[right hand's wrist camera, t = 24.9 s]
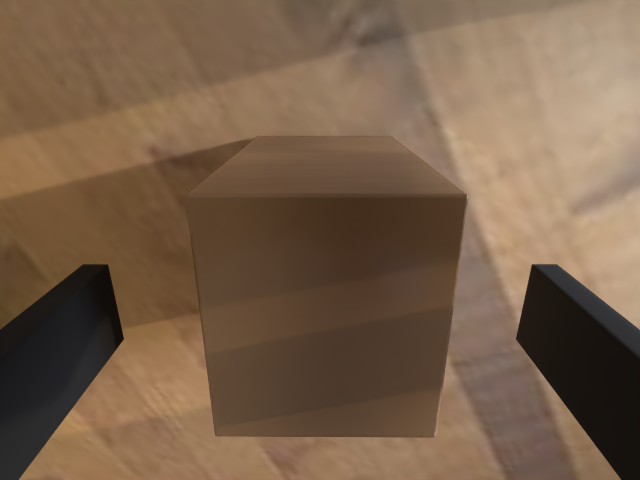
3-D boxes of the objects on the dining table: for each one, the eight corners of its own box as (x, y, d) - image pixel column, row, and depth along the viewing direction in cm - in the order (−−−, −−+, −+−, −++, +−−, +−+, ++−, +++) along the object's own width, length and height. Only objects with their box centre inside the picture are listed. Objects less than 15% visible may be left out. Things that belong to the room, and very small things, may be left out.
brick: (264, 275, 24) (214, 437, 13) (256, 136, 21) (183, 194, 10) (384, 275, 24) (436, 438, 13) (393, 136, 21) (470, 194, 10)
